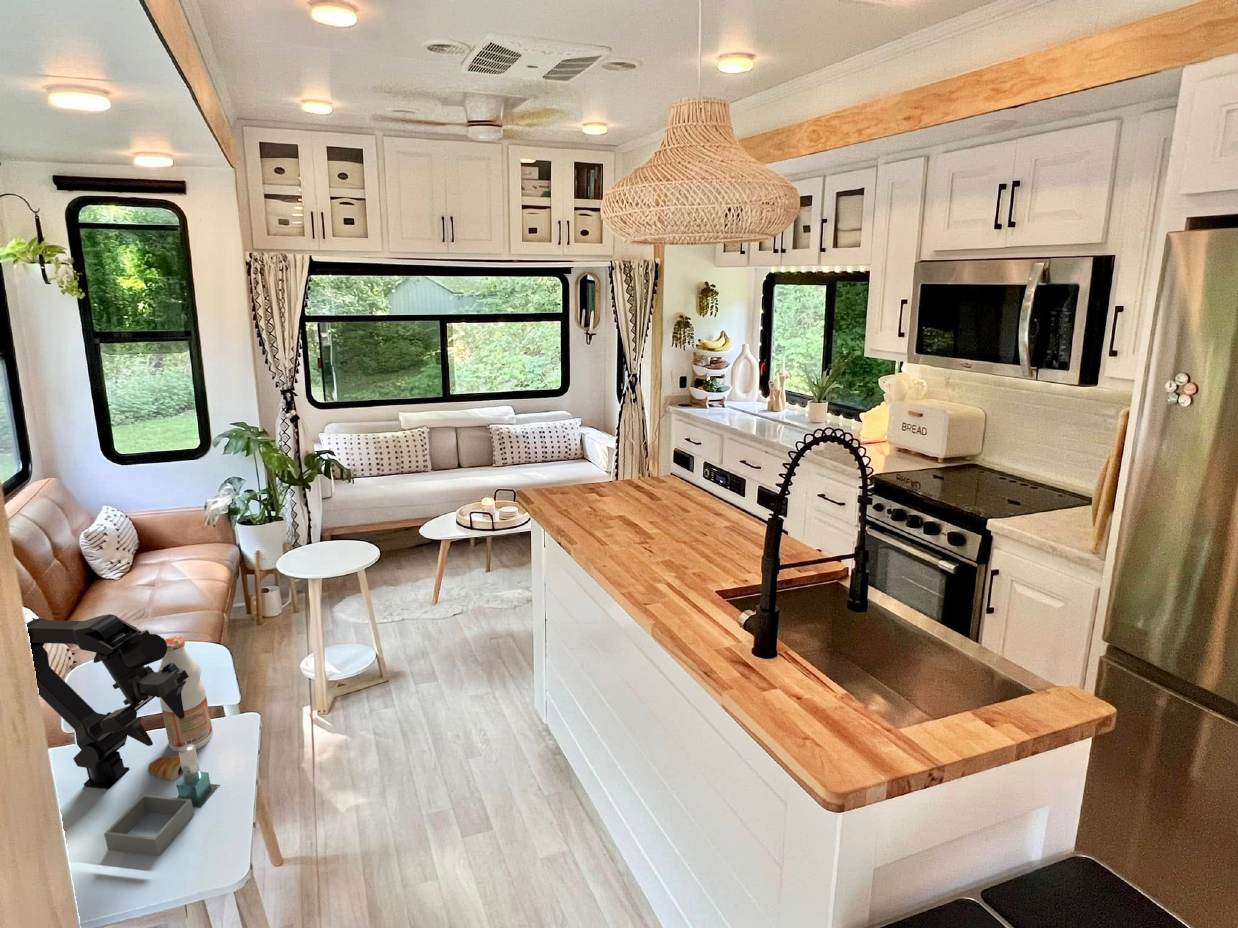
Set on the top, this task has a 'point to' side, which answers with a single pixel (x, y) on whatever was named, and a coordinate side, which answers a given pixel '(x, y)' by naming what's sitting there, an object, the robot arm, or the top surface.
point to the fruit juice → (186, 701)
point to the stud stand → (206, 797)
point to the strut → (192, 776)
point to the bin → (146, 803)
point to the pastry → (166, 767)
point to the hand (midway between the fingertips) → (167, 731)
